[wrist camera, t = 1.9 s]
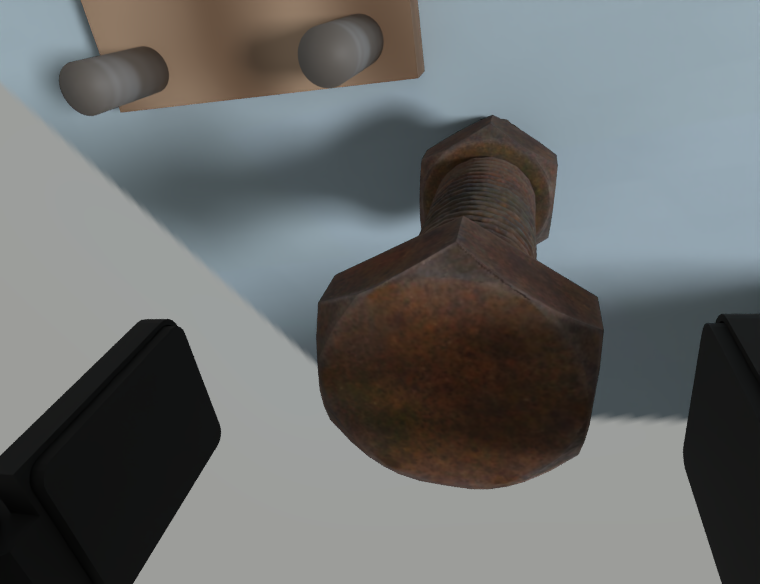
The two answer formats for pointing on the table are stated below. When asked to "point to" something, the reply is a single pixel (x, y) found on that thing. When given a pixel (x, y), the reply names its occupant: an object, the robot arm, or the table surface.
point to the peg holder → (238, 50)
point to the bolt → (465, 326)
